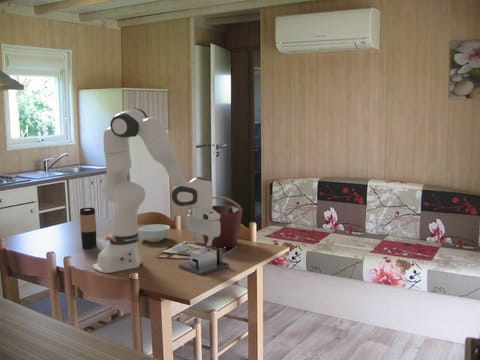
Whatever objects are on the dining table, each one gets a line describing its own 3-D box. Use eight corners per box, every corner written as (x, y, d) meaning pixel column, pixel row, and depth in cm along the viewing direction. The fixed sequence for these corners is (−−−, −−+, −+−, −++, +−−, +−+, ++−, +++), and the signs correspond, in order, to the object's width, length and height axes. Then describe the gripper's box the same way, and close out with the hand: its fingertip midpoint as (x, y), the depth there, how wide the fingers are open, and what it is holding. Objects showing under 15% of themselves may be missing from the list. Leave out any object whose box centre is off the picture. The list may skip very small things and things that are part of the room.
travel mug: (78, 247, 278) (76, 209, 275) (89, 244, 285) (87, 207, 282) (89, 249, 275) (87, 211, 272) (100, 245, 281) (98, 208, 278)
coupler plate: (201, 275, 233) (201, 258, 232) (179, 267, 244) (178, 251, 243) (228, 267, 244) (228, 251, 243) (205, 259, 255) (205, 244, 254)
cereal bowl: (173, 236, 299) (172, 223, 297) (166, 244, 282) (165, 231, 281) (143, 236, 300) (142, 223, 299) (134, 244, 284) (134, 231, 283)
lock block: (200, 268, 238) (199, 254, 237) (190, 265, 243) (190, 251, 242) (216, 263, 245) (216, 249, 244) (207, 260, 250) (207, 247, 249)
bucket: (188, 245, 279) (187, 198, 275) (214, 236, 297) (213, 191, 294) (227, 253, 266) (226, 203, 262) (251, 242, 284) (251, 196, 280)
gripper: (182, 210, 246) (182, 240, 248) (212, 217, 231) (211, 248, 233) (193, 208, 250) (192, 238, 252) (223, 215, 236) (222, 246, 238)
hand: (202, 243), depth 242 cm, fingers open, 8 cm apart
